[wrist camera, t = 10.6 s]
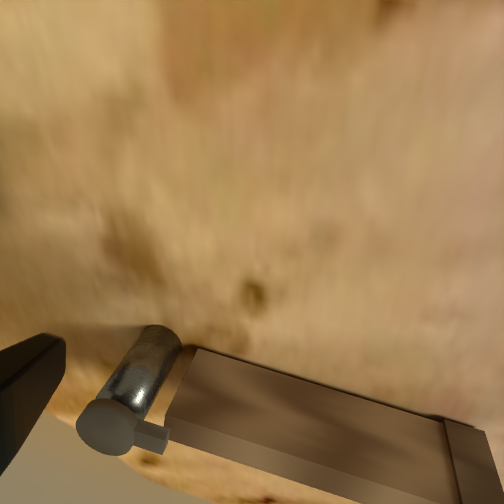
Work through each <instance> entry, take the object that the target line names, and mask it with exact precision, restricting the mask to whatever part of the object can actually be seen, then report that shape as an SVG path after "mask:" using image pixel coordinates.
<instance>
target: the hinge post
mask: <svg viewBox="0 0 504 504" xmlns="http://www.w3.org/2000/svg"><path fill="white" fill-rule="evenodd" d="M181 349H182V345H181V342H180V339H179V338H178V336H177V335H176V334H175V333H174V332H173V331H172V330H170V329H168V328H166V327H164V326H160V325H152V326H148V327H146V328H145V329H144V330H143V331H142V333H141V334H140V336H139V337H138V338H137V340H136V341H135V343H134V344H133V345H132V347H131V348H130V350H129V351H128V353H127V354H126V355H125V357H124V358H123V360H122V361H121V362H120V364H119V365H118V367H117V368H116V369H115V371H114V372H113V374H112V375H111V376H110V378H109V379H108V381H107V382H106V384H105V385H104V386H103V388H102V389H101V391H100V392H99V393H98V395H97V396H96V399H99V398H107V399H112V400H115V401H117V402H120V403H122V404H123V405H125V406H126V407H128V408H129V409H130V410H131V411H132V412H133V413H134V414H135V415H136V417H137V418H138V419H141V420H144V418H145V417H146V415H147V413H148V411H149V409H150V407H151V406H152V404H153V402H154V400H155V398H156V396H157V395H158V393H159V391H160V389H161V387H162V385H163V384H164V382H165V380H166V378H167V376H168V374H169V373H170V371H171V369H172V367H173V365H174V363H175V362H176V360H177V358H178V356H179V354H180V352H181Z"/></svg>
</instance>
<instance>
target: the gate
mask: <svg viewBox="0 0 504 504" xmlns="http://www.w3.org/2000/svg"><path fill="white" fill-rule="evenodd" d="M76 430H77V432H78V434H79V436H80V437H81V438H82V440H83V441H84V442H85V443H86V444H87V445H88V446H90V447H91V448H93V449H95V450H96V451H98V452H101V453H103V454H106V455H112V456H119V455H123V454H126V453H127V452H128V451H129V450H130V449H131V447H132V445H134V446H137V447H140V448H143V449H146V450H149V451H152V452H155V453H158V454H161V455H163V452H164V450H165V448H166V446H167V444H168V440H171V441H174V442H177V443H180V444H183V445H186V446H189V447H192V448H195V449H198V450H202V451H205V452H208V453H211V454H214V455H217V456H220V457H223V458H226V459H229V460H232V461H235V462H238V463H241V464H244V465H247V466H250V467H253V468H256V469H259V470H262V471H265V472H268V473H271V474H274V475H277V476H280V477H283V478H286V479H289V480H292V481H295V482H298V483H301V484H304V485H307V486H311V487H314V488H317V489H320V490H323V491H326V492H329V493H332V494H335V495H338V496H341V497H344V498H347V499H350V500H353V501H356V502H359V503H362V504H504V492H503V489H502V485H501V482H500V479H499V476H498V473H497V470H496V466H495V463H494V460H493V457H492V454H491V450H490V447H489V444H488V441H487V438H486V434H485V431H482V430H478V429H475V428H472V427H468V426H465V425H462V424H459V423H455V422H452V421H449V420H446V419H444V420H443V422H442V423H440V422H437V421H434V420H431V419H427V418H424V417H421V416H418V415H414V414H411V413H408V412H404V411H401V410H398V409H395V408H391V407H388V406H385V405H382V404H378V403H375V402H372V401H369V400H365V399H362V398H359V397H356V396H352V395H349V394H346V393H342V392H339V391H336V390H333V389H329V388H326V387H323V386H320V385H316V384H313V383H310V382H307V381H303V380H300V379H297V378H294V377H290V376H287V375H284V374H280V373H277V372H274V371H271V370H267V369H264V368H261V367H258V366H254V365H251V364H248V363H245V362H241V361H238V360H235V359H231V358H228V357H225V356H222V355H218V354H215V353H212V352H209V351H205V350H202V349H199V348H198V350H197V352H196V354H195V356H194V358H193V360H192V362H191V364H190V366H189V368H188V370H187V372H186V374H185V376H184V378H183V380H182V382H181V384H180V386H179V388H178V390H177V392H176V394H175V396H174V398H173V400H172V402H171V404H170V406H169V408H168V410H167V412H166V414H165V421H164V427H162V426H159V425H156V424H153V423H150V422H147V421H144V420H141V419H138V418H137V417H136V415H135V414H134V413H133V412H132V411H131V410H130V409H129V408H128V407H126V406H125V405H123V404H122V403H120V402H117V401H115V400H112V399H107V398H99V399H95V400H92V401H91V402H90V403H89V404H88V405H87V406H86V408H85V409H84V411H83V412H82V413H81V415H80V416H79V418H78V419H77V421H76Z"/></svg>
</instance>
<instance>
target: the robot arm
mask: <svg viewBox="0 0 504 504" xmlns="http://www.w3.org/2000/svg"><path fill="white" fill-rule="evenodd" d="M65 366H66V342H65V340H64V339H63V338H62V337H59V336H56V335H53V334H50V333H40V334H38V335H35V336H33V337H31V338H29V339H26V340H24V341H22V342H19V343H17V344H15V345H12V346H10V347H8V348H6V349H3V350H1V351H0V476H1V475H2V473H3V472H4V471H5V469H6V468H7V467H8V465H9V464H10V463H11V461H12V459H13V458H14V457H15V455H16V454H17V453H18V451H19V450H20V448H21V446H22V445H23V443H24V441H25V440H26V438H27V437H28V435H29V433H30V431H31V430H32V428H33V427H34V425H35V423H36V422H37V420H38V418H39V417H40V415H41V414H42V412H43V410H44V409H45V407H46V405H47V404H48V402H49V400H50V399H51V397H52V395H53V394H54V392H55V390H56V389H57V387H58V385H59V384H60V382H61V380H62V378H63V376H64V373H65Z"/></svg>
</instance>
